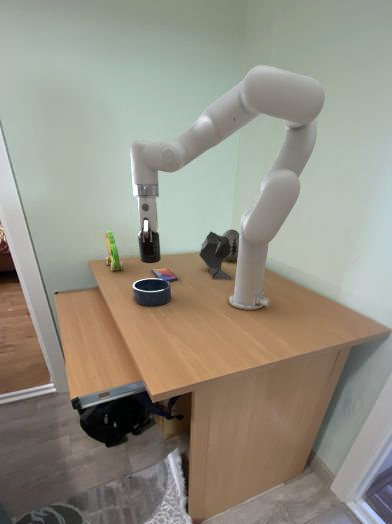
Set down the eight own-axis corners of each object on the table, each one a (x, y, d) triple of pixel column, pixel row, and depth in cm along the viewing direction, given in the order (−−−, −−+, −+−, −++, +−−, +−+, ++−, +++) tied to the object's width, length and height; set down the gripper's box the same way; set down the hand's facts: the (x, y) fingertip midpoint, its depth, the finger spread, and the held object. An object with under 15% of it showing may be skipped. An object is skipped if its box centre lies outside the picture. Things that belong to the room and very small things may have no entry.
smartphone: (160, 282, 122) (160, 280, 121) (151, 270, 133) (151, 268, 132) (177, 280, 124) (177, 278, 123) (166, 269, 135) (166, 267, 135)
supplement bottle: (161, 257, 102) (159, 220, 96) (159, 263, 97) (158, 224, 90) (141, 257, 102) (138, 220, 96) (138, 263, 96) (135, 224, 90)
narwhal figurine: (229, 268, 140) (232, 227, 130) (231, 279, 127) (235, 235, 117) (199, 267, 140) (200, 226, 130) (198, 278, 127) (200, 234, 117)
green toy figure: (124, 271, 132) (120, 235, 124) (112, 272, 130) (107, 236, 122) (116, 261, 144) (112, 228, 136) (105, 262, 142) (100, 229, 134)
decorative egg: (215, 257, 153) (217, 227, 145) (237, 257, 155) (239, 227, 147) (221, 264, 144) (223, 232, 136) (243, 263, 146) (247, 232, 138)
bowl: (178, 299, 108) (178, 284, 105) (150, 310, 99) (149, 295, 96) (154, 289, 115) (153, 275, 112) (126, 299, 107) (125, 284, 104)
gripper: (156, 194, 81) (159, 259, 91) (160, 188, 96) (162, 245, 105) (129, 193, 81) (134, 259, 90) (137, 188, 95) (141, 245, 105)
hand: (149, 251), depth 98 cm, fingers closed on supplement bottle, 6 cm apart
